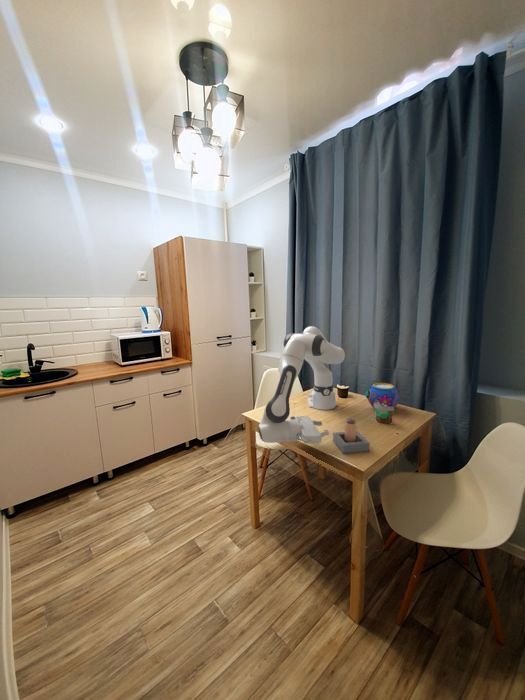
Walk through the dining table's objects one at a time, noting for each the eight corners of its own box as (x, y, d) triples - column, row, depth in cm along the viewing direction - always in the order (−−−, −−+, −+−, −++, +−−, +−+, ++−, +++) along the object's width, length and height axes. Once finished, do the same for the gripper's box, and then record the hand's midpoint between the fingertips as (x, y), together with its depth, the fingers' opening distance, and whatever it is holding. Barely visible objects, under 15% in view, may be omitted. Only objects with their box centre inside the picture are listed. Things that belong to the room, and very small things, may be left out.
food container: (368, 418, 155) (368, 401, 153) (377, 416, 157) (377, 399, 155) (384, 426, 144) (385, 408, 142) (393, 424, 146) (394, 406, 144)
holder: (333, 440, 131) (333, 432, 131) (356, 438, 133) (357, 430, 132) (342, 453, 120) (343, 445, 119) (369, 451, 121) (369, 443, 120)
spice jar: (342, 442, 128) (343, 418, 126) (353, 441, 129) (353, 417, 127) (347, 448, 123) (347, 422, 121) (357, 447, 124) (358, 421, 122)
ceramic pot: (372, 401, 179) (372, 379, 177) (401, 407, 168) (403, 384, 166) (362, 410, 166) (363, 386, 163) (394, 417, 155) (395, 391, 152)
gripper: (300, 434, 111) (333, 431, 113) (290, 414, 131) (318, 412, 133) (300, 449, 113) (333, 445, 114) (290, 426, 133) (318, 424, 134)
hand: (324, 427), depth 124 cm, fingers open, 8 cm apart
